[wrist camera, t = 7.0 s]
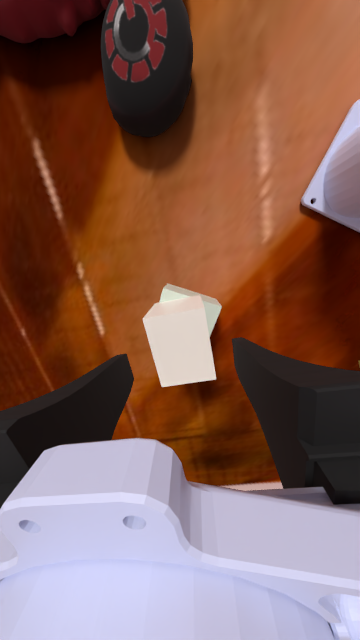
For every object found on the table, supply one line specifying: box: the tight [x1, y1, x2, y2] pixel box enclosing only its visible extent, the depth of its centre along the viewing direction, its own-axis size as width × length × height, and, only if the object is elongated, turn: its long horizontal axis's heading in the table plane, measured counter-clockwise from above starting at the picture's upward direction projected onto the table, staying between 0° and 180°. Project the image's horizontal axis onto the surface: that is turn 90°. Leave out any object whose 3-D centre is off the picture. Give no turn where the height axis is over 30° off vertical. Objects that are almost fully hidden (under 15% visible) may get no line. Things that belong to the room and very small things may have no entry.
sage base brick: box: [159, 284, 222, 338], centre depth 20 cm, size 6×6×4 cm
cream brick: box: [143, 295, 216, 387], centre depth 16 cm, size 4×6×5 cm
